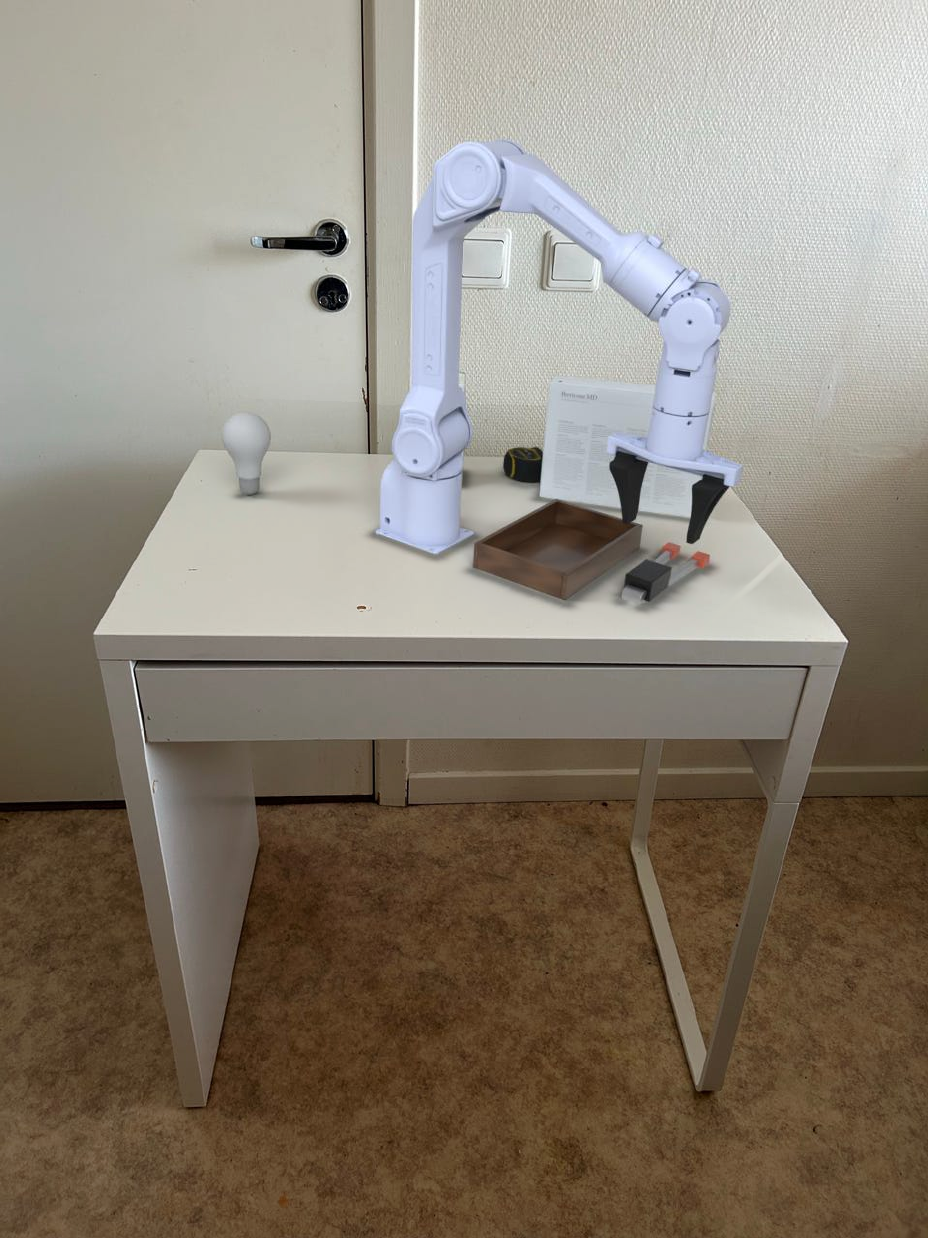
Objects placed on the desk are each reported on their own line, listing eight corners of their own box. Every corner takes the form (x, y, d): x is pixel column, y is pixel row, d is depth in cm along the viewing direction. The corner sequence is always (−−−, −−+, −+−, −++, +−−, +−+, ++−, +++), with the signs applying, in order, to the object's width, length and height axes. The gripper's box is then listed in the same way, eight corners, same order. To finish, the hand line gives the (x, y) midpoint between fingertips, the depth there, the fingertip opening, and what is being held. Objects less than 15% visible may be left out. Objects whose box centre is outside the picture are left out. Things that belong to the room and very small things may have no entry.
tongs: (708, 566, 113) (712, 545, 111) (651, 613, 102) (655, 590, 101) (666, 553, 115) (670, 532, 114) (607, 597, 105) (610, 575, 103)
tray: (472, 570, 109) (474, 542, 107) (553, 524, 122) (555, 498, 120) (564, 604, 103) (567, 575, 101) (639, 551, 116) (643, 524, 114)
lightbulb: (283, 493, 126) (279, 412, 121) (251, 507, 122) (245, 423, 116) (249, 482, 129) (244, 402, 124) (216, 495, 125) (209, 413, 119)
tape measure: (557, 485, 134) (560, 459, 132) (512, 488, 132) (514, 462, 130) (539, 468, 139) (542, 443, 137) (495, 471, 137) (497, 446, 135)
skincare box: (697, 506, 129) (717, 390, 122) (695, 521, 125) (717, 401, 117) (544, 485, 133) (554, 372, 126) (537, 499, 129) (547, 382, 121)
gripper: (763, 415, 97) (737, 537, 103) (634, 386, 104) (618, 502, 110) (736, 431, 91) (711, 559, 98) (603, 399, 99) (588, 520, 105)
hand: (660, 530), depth 104 cm, fingers open, 7 cm apart
